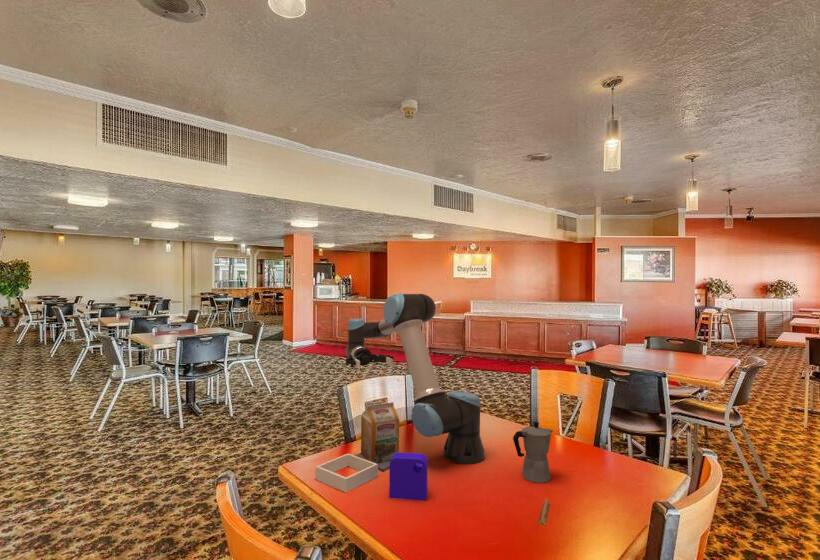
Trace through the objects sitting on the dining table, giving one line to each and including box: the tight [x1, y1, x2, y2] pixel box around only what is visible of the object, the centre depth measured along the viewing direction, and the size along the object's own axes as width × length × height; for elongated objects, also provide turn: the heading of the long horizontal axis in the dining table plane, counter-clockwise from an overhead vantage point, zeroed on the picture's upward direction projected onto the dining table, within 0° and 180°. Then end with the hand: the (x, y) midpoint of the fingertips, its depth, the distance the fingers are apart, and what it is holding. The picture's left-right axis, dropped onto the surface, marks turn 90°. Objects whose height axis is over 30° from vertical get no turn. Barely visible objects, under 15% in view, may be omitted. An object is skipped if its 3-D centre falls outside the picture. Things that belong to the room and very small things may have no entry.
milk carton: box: [360, 401, 400, 464], centre depth 152 cm, size 10×11×19 cm
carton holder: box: [314, 453, 379, 493], centre depth 136 cm, size 14×14×4 cm
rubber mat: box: [353, 452, 391, 472], centre depth 152 cm, size 16×14×1 cm
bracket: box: [388, 451, 429, 501], centre depth 132 cm, size 18×11×12 cm, turn 173°
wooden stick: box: [537, 497, 551, 526], centre depth 115 cm, size 3×12×2 cm, turn 156°
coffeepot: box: [512, 421, 554, 484], centre depth 138 cm, size 15×9×18 cm, turn 110°
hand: (375, 363), depth 165 cm, fingers open, 13 cm apart
